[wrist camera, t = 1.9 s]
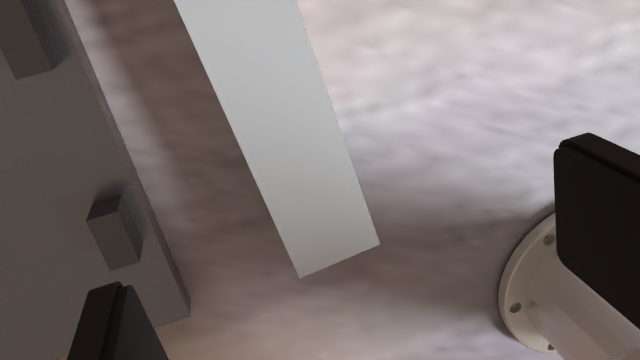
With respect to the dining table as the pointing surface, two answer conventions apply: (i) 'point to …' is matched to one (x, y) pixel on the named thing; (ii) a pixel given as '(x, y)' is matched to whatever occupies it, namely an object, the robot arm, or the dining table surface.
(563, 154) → the robot arm
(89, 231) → the cradle
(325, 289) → the dining table surface
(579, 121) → the dining table surface
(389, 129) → the dining table surface
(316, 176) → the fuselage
